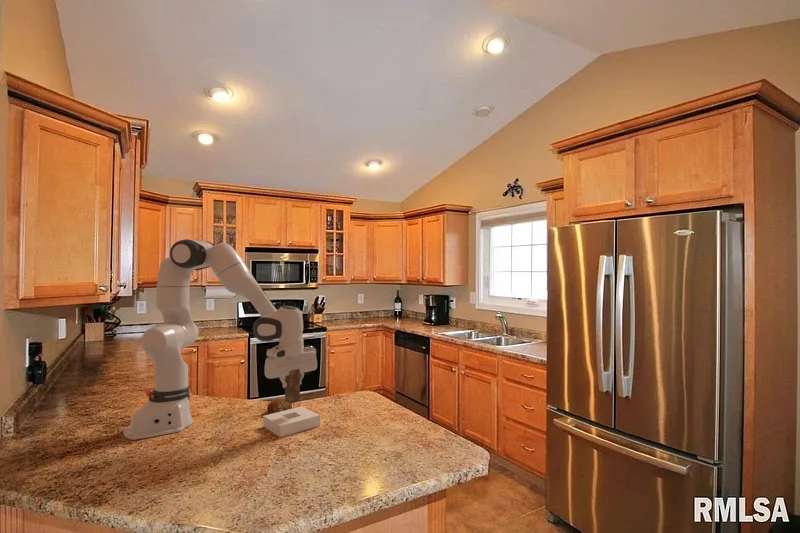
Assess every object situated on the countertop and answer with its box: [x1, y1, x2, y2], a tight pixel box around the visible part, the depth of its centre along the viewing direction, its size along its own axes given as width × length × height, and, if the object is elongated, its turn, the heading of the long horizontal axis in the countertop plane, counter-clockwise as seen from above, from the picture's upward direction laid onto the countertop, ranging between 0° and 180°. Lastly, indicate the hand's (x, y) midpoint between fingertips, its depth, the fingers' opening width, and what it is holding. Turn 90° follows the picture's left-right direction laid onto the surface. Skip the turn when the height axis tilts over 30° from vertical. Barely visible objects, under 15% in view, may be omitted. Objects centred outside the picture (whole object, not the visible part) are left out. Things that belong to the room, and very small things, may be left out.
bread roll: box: [266, 396, 293, 415], centre depth 174 cm, size 10×10×8 cm
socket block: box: [262, 406, 321, 438], centre depth 158 cm, size 16×14×4 cm
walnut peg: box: [284, 369, 301, 404], centre depth 158 cm, size 4×4×12 cm
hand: (292, 386), depth 158 cm, fingers closed on walnut peg, 4 cm apart
